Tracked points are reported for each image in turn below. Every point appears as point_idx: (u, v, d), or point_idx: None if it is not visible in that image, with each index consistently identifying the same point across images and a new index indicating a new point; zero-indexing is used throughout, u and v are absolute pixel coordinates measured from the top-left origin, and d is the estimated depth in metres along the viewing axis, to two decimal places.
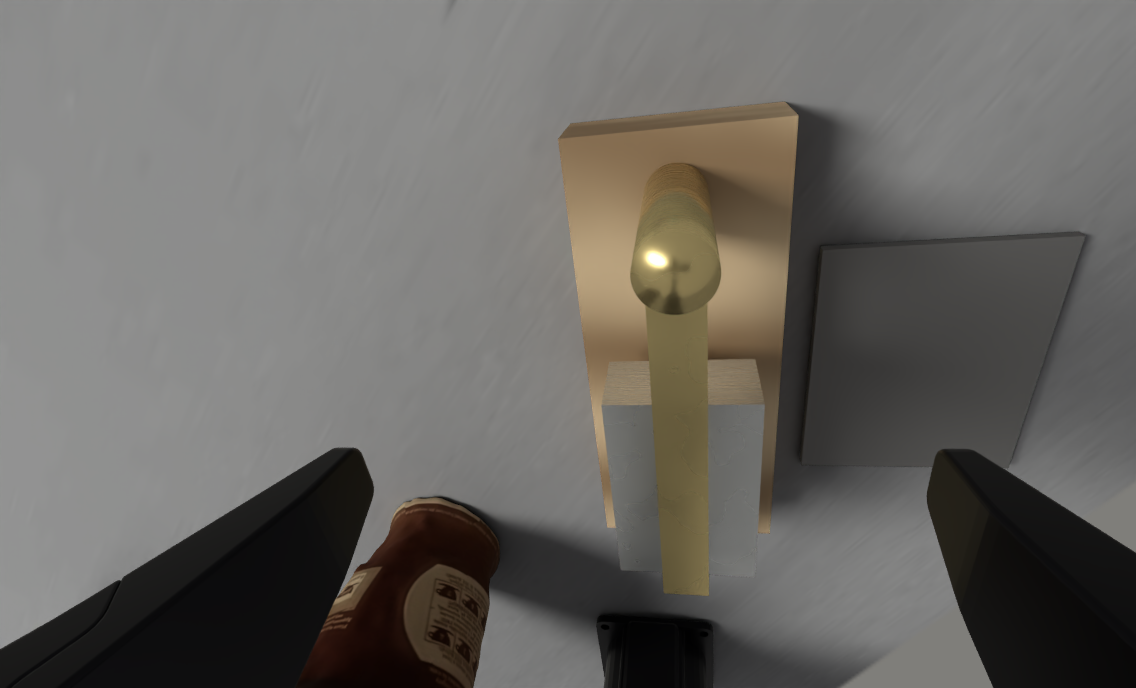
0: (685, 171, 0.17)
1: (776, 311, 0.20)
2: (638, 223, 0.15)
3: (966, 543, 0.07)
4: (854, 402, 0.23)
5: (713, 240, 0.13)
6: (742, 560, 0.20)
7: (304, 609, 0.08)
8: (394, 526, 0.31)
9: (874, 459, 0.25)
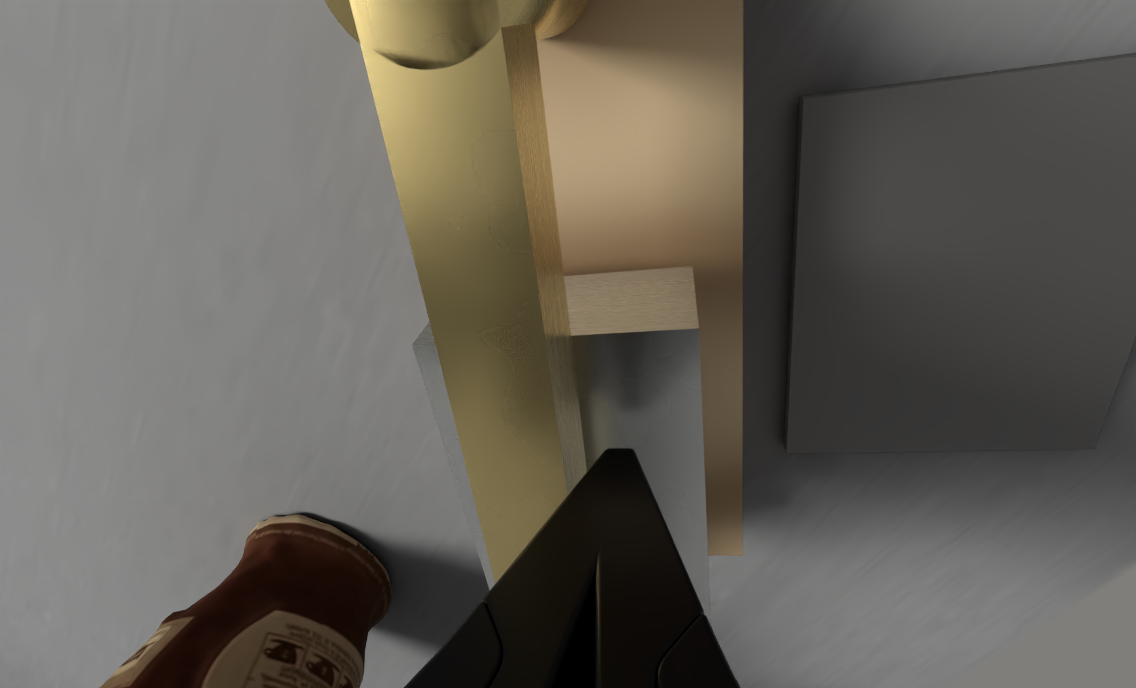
0: None
1: (729, 191, 0.12)
2: None
3: None
4: (861, 355, 0.16)
5: None
6: None
7: None
8: (243, 555, 0.23)
9: (892, 442, 0.17)
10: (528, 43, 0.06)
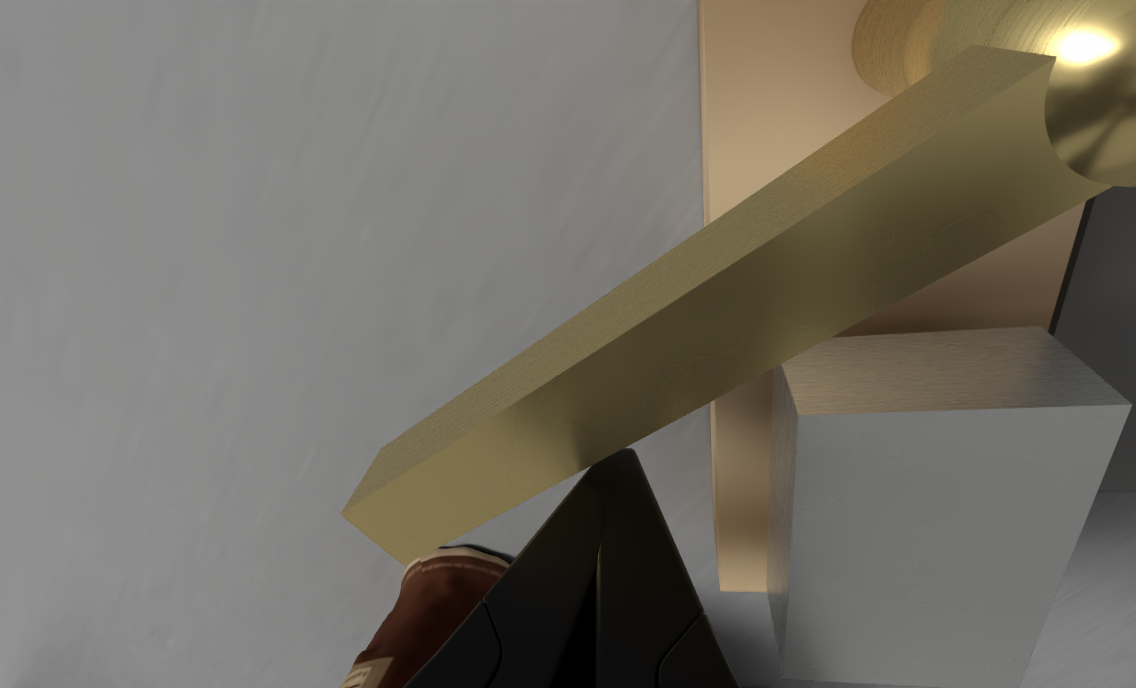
0: None
1: (1057, 246, 0.12)
2: None
3: None
4: None
5: None
6: (1001, 666, 0.12)
7: None
8: (406, 587, 0.23)
9: (1124, 481, 0.17)
10: None
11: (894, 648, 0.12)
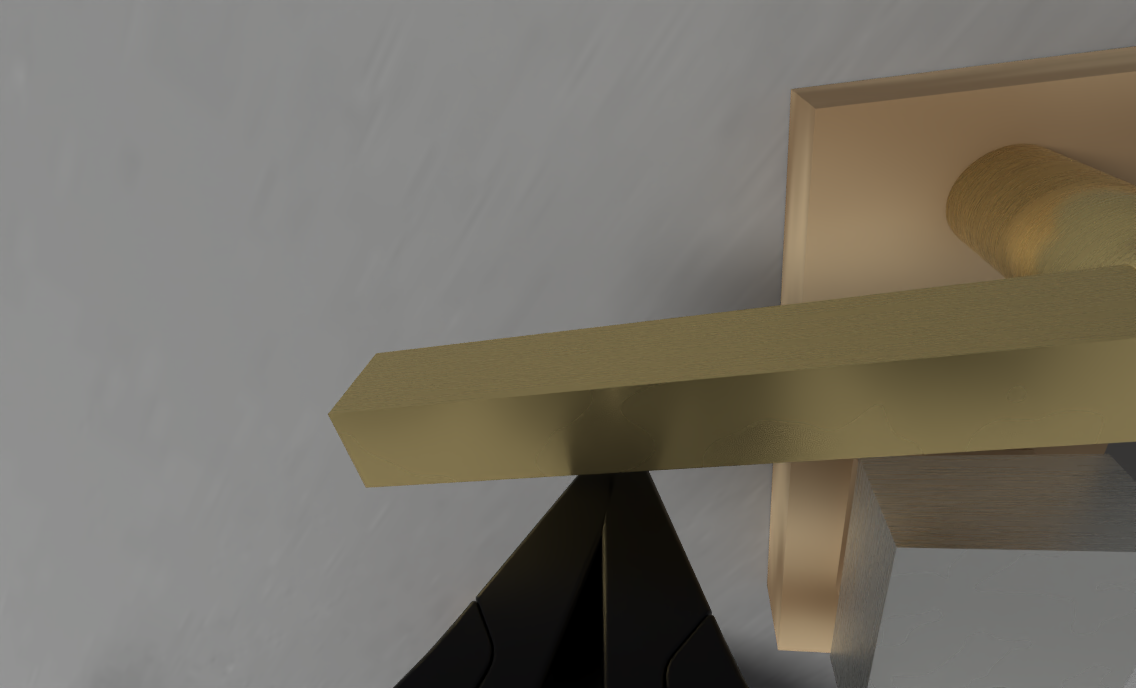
0: None
1: None
2: None
3: None
4: None
5: None
6: None
7: None
8: None
9: None
10: None
11: None
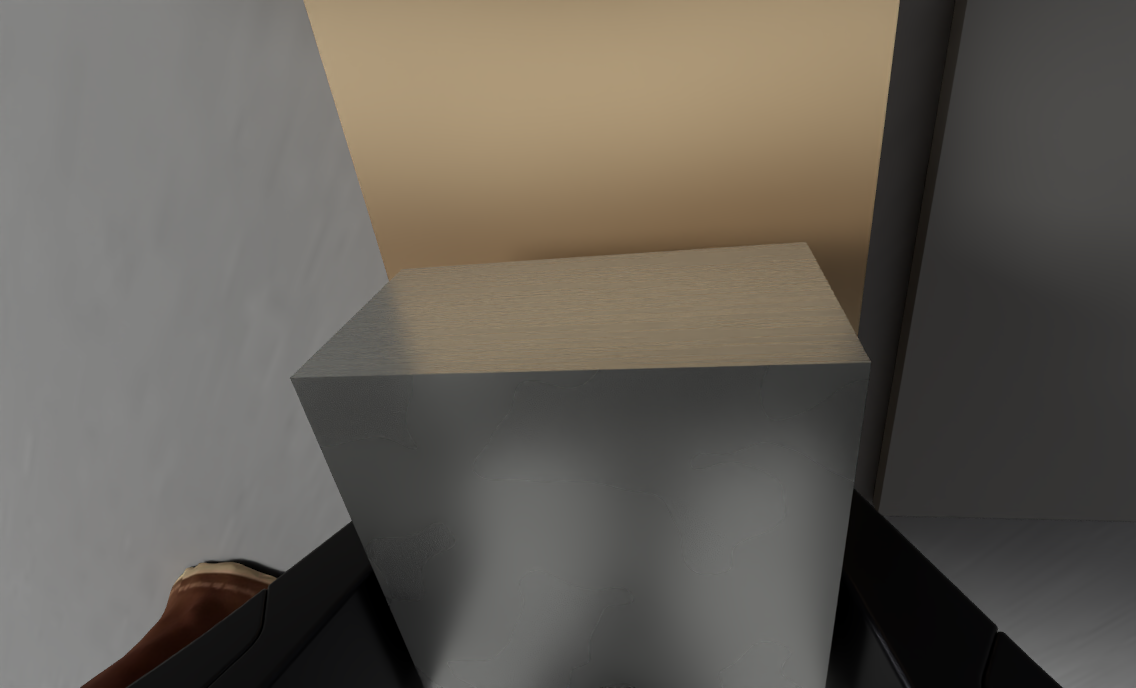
0: None
1: (860, 120, 0.07)
2: None
3: None
4: (1005, 385, 0.11)
5: None
6: None
7: None
8: None
9: (1034, 505, 0.12)
10: None
11: None
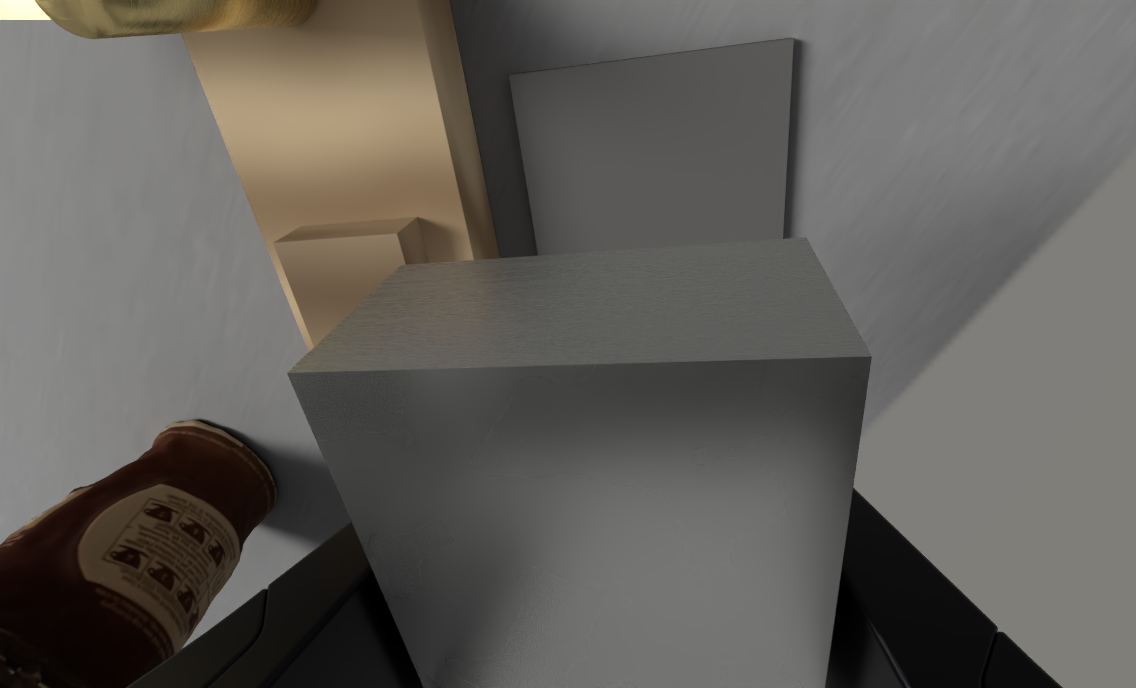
0: None
1: (438, 140, 0.16)
2: None
3: None
4: None
5: (148, 28, 0.11)
6: None
7: None
8: None
9: None
10: None
11: None
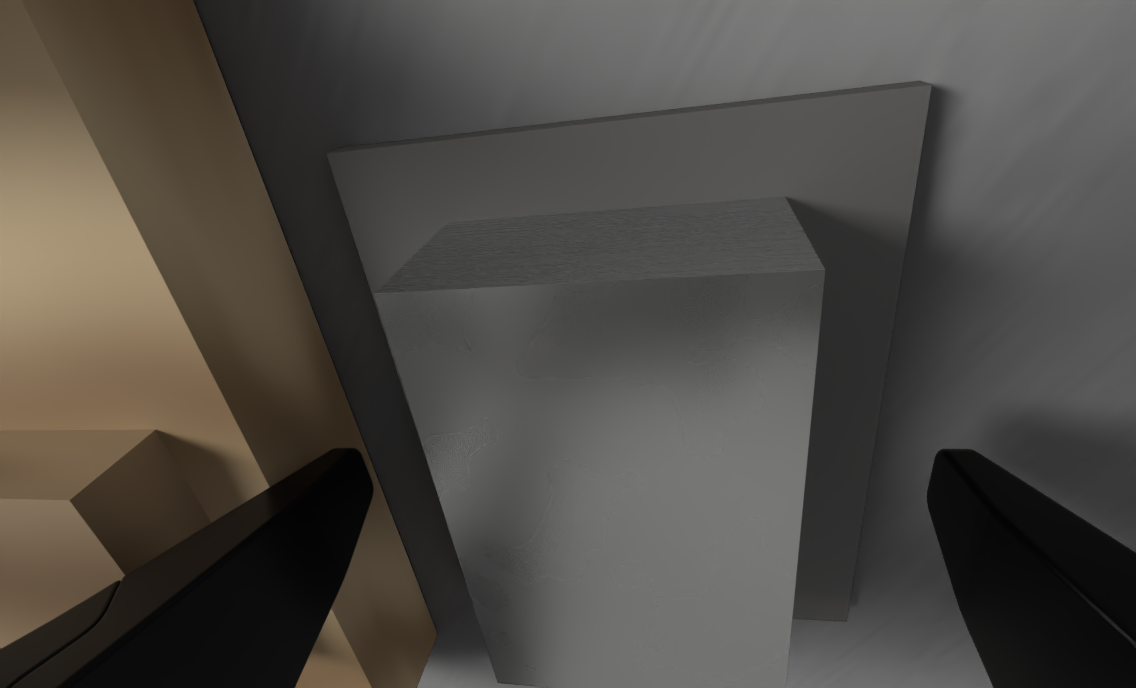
0: None
1: (156, 300, 0.08)
2: None
3: (966, 543, 0.07)
4: None
5: None
6: (755, 675, 0.09)
7: (304, 609, 0.08)
8: None
9: None
10: None
11: (616, 646, 0.09)
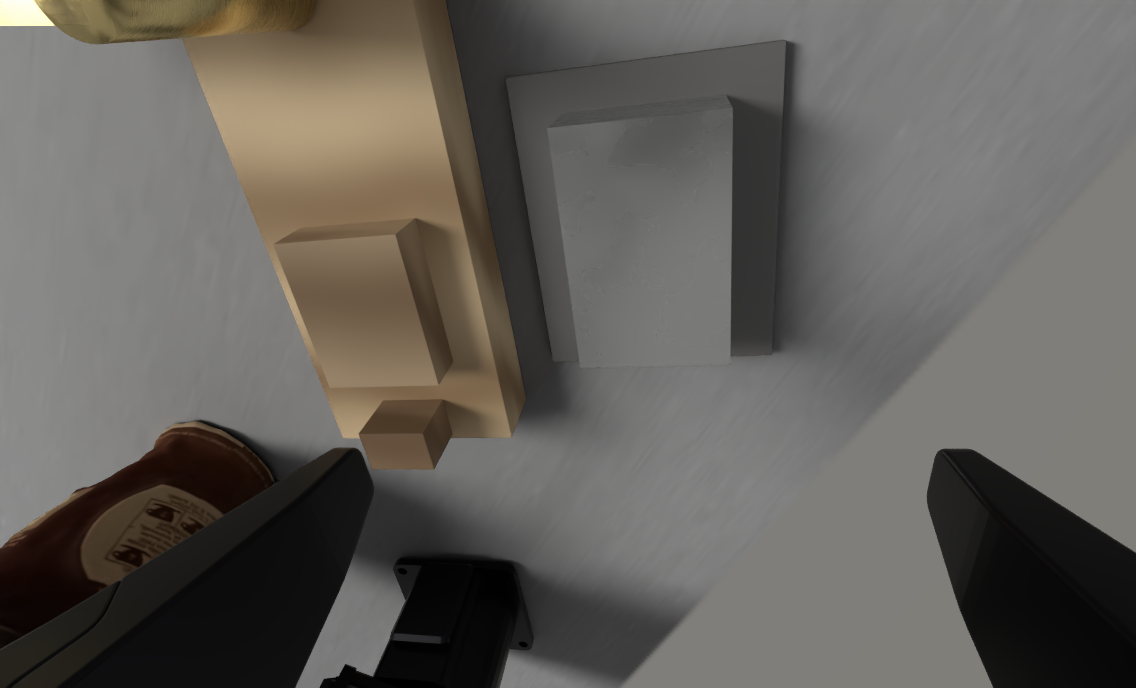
0: (295, 0, 0.14)
1: (435, 142, 0.17)
2: None
3: (966, 543, 0.07)
4: None
5: (149, 34, 0.11)
6: (715, 341, 0.18)
7: (304, 609, 0.08)
8: None
9: None
10: None
11: (644, 330, 0.18)
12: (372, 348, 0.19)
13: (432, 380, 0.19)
